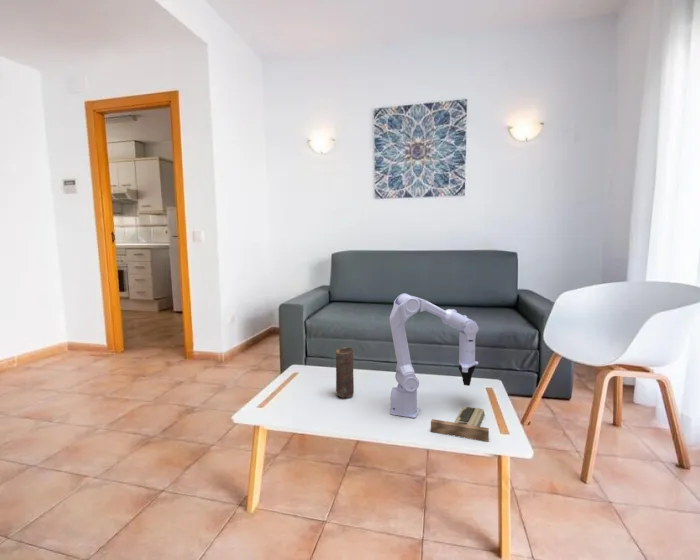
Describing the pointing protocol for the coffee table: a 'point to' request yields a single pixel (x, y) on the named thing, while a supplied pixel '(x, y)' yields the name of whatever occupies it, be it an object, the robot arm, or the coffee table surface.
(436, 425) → the bar
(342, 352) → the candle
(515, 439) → the coffee table surface
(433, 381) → the coffee table surface
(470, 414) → the computer
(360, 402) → the coffee table surface
